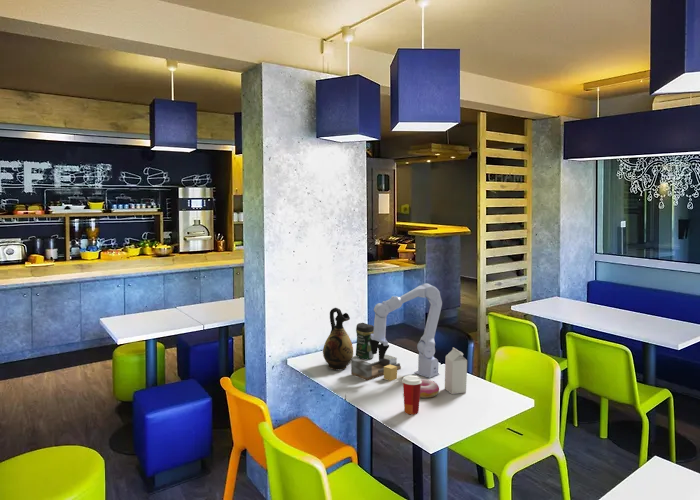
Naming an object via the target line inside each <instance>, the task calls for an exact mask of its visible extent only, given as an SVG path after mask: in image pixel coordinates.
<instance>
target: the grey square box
mask: <svg viewBox="0 0 700 500" xmlns="http://www.w3.org/2000/svg"><path fill="white" fill-rule="evenodd" d="M397 359H398V358H397V357H396V356H392V355H388V354H385V356H384V359H379V358H378V361H379V364H381V365H384V366H387V365H395V364H398V361H397Z"/></svg>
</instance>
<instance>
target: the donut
mask: <svg viewBox="0 0 700 500" xmlns="http://www.w3.org/2000/svg"><path fill="white" fill-rule="evenodd" d="M420 379H421V381H422V383H421V387H420V399H429V398H432V397H433V398H434V397H435V396H437V395H438V394H439V392H440V386H439V385H438V384H437V383H436V381H433V380H430V379H425V378H420Z"/></svg>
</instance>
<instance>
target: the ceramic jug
mask: <svg viewBox="0 0 700 500" xmlns="http://www.w3.org/2000/svg"><path fill="white" fill-rule="evenodd" d="M335 313H336V315H337V316H336V317H335V316H334V315H335ZM350 319H351V318H350V315H349V314H348V313H347V312H344V313H343V311H341V309H340V308H338V307H333V308H331V310H330V311H329V320H330V321H329V322H330V326H331V329H330V333H329V335H328V336H327V338H326V340H325V343H324V346H323V348H322V349H323V350H322V355H323V358H324V361H325V362H326V363H327V366H328V368H329V369H330V370H333V371H343V370H346V369H347V366H348V365H349V364H350V363H351V360H352V359H353V356H354V346H353V343H352V342H353V341H352V340H351V338H350V336H349V334H348V332H347V331H346V329H345V328H344V325H343V324H344V322H347V321H349V320H350Z"/></svg>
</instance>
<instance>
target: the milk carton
mask: <svg viewBox="0 0 700 500" xmlns="http://www.w3.org/2000/svg"><path fill="white" fill-rule="evenodd" d="M444 363H445V365H444V389H445V390H446V391H447V392H449V394H451V395H454V394H455V395H456V394H465V393H467V380H468V379H467V375H468V374H467V373H468V360H467V359H466V358H465V357H464V353H463V352H462V351H460V350H458V349H457V348H455V347H452V349H451V350H450V351H449V352H448V354H446V355H445V362H444Z"/></svg>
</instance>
